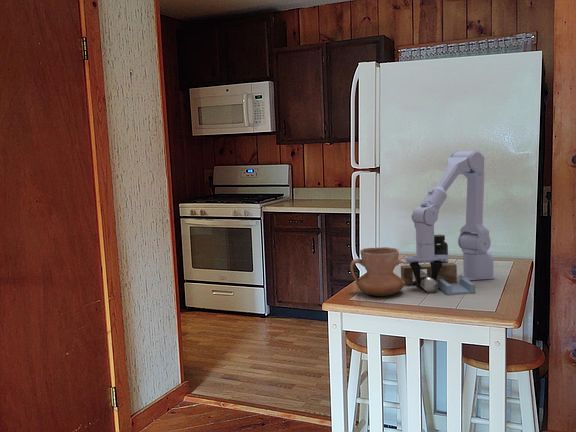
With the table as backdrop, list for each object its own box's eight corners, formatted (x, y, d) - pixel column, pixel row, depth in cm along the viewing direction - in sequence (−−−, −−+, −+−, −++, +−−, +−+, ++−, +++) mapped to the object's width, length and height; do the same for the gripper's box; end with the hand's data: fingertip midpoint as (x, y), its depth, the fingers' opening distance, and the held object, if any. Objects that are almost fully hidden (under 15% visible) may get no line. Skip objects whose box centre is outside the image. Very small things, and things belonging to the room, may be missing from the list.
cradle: (464, 285, 180) (464, 277, 179) (475, 293, 171) (475, 284, 171) (438, 287, 179) (438, 279, 179) (447, 294, 171) (447, 286, 170)
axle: (423, 280, 189) (423, 268, 189) (438, 292, 174) (438, 279, 173) (411, 281, 189) (410, 269, 189) (425, 293, 173) (424, 280, 173)
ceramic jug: (410, 288, 180) (409, 246, 179) (404, 300, 167) (402, 255, 165) (356, 286, 187) (355, 245, 185) (346, 298, 173) (344, 253, 171)
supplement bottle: (450, 265, 211) (450, 234, 209) (445, 268, 205) (444, 237, 203) (433, 263, 214) (432, 233, 213) (427, 267, 209) (426, 236, 207)
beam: (452, 279, 189) (452, 262, 188) (456, 282, 185) (456, 264, 184) (401, 282, 188) (400, 265, 187) (404, 285, 184) (403, 268, 183)
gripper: (443, 239, 182) (443, 279, 183) (400, 242, 181) (401, 282, 183) (450, 243, 175) (451, 285, 176) (405, 246, 174) (406, 287, 176)
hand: (426, 284), depth 179 cm, fingers closed on axle, 4 cm apart
